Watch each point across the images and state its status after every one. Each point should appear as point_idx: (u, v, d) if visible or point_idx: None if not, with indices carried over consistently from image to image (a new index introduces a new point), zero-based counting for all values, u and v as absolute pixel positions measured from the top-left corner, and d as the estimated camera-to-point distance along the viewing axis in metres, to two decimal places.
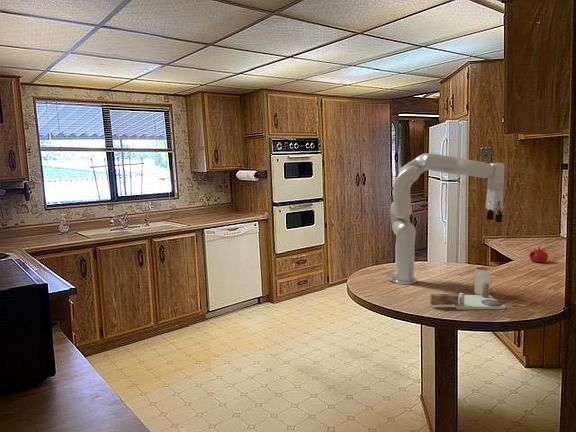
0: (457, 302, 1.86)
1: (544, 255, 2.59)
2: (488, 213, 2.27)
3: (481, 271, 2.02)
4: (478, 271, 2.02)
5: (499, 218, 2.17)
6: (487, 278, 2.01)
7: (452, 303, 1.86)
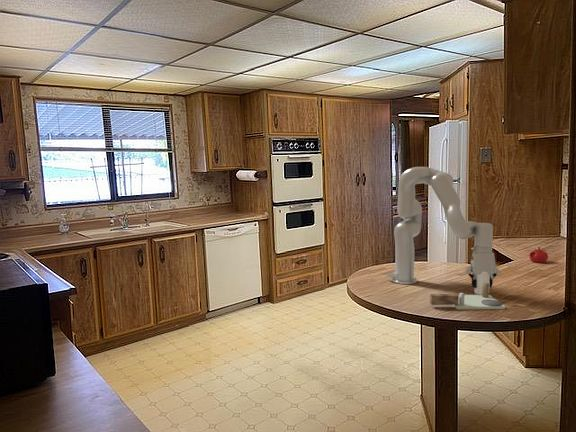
0: (457, 302, 1.86)
1: (544, 255, 2.59)
2: None
3: None
4: None
5: None
6: (487, 278, 2.01)
7: (452, 303, 1.86)
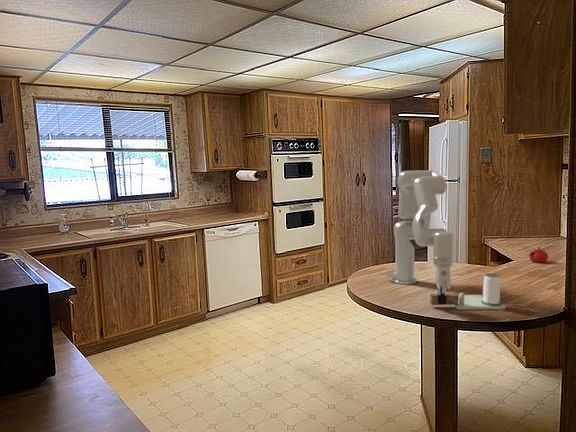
0: (457, 302, 1.86)
1: (544, 255, 2.59)
2: None
3: (491, 278, 1.84)
4: (487, 278, 1.85)
5: None
6: (497, 286, 1.84)
7: (452, 303, 1.86)
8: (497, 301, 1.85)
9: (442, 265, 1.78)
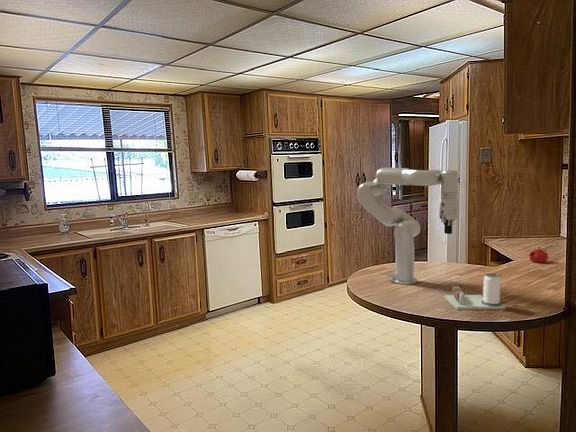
0: (457, 300, 1.89)
1: (544, 255, 2.59)
2: None
3: (491, 278, 1.84)
4: (487, 278, 1.85)
5: None
6: (497, 286, 1.84)
7: (456, 299, 1.91)
8: (497, 301, 1.85)
9: (443, 198, 2.08)
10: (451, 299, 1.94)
